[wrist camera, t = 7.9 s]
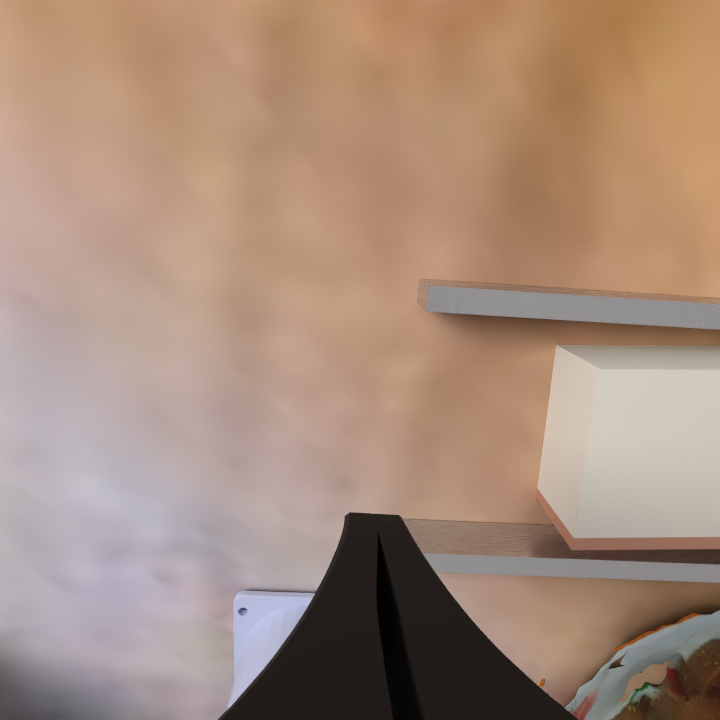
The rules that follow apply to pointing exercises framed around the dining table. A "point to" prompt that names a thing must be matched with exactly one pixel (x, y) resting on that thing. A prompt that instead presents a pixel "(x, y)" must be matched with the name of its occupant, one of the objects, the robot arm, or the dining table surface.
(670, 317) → the shelf slot
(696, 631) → the food on plate
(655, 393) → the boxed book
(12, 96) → the dining table surface
